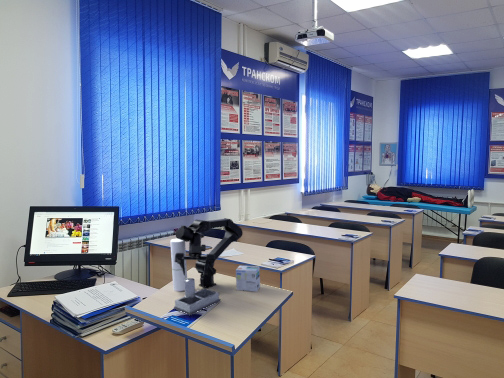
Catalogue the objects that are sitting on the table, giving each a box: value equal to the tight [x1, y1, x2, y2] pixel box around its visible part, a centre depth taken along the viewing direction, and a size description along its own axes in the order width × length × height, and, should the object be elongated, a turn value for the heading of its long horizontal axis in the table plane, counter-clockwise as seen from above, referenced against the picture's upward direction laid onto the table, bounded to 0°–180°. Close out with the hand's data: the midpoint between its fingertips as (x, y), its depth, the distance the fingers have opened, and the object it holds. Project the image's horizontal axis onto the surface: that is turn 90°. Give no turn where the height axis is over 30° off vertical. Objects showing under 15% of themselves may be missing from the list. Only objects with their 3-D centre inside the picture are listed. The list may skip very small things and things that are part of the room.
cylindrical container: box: [169, 238, 188, 292], centre depth 187 cm, size 7×7×25 cm
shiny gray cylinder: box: [184, 277, 196, 305], centre depth 164 cm, size 4×4×12 cm
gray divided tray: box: [173, 287, 221, 316], centre depth 168 cm, size 18×11×4 cm, turn 140°
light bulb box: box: [235, 264, 261, 293], centre depth 185 cm, size 11×7×11 cm, turn 74°
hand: (194, 275), depth 175 cm, fingers open, 9 cm apart
